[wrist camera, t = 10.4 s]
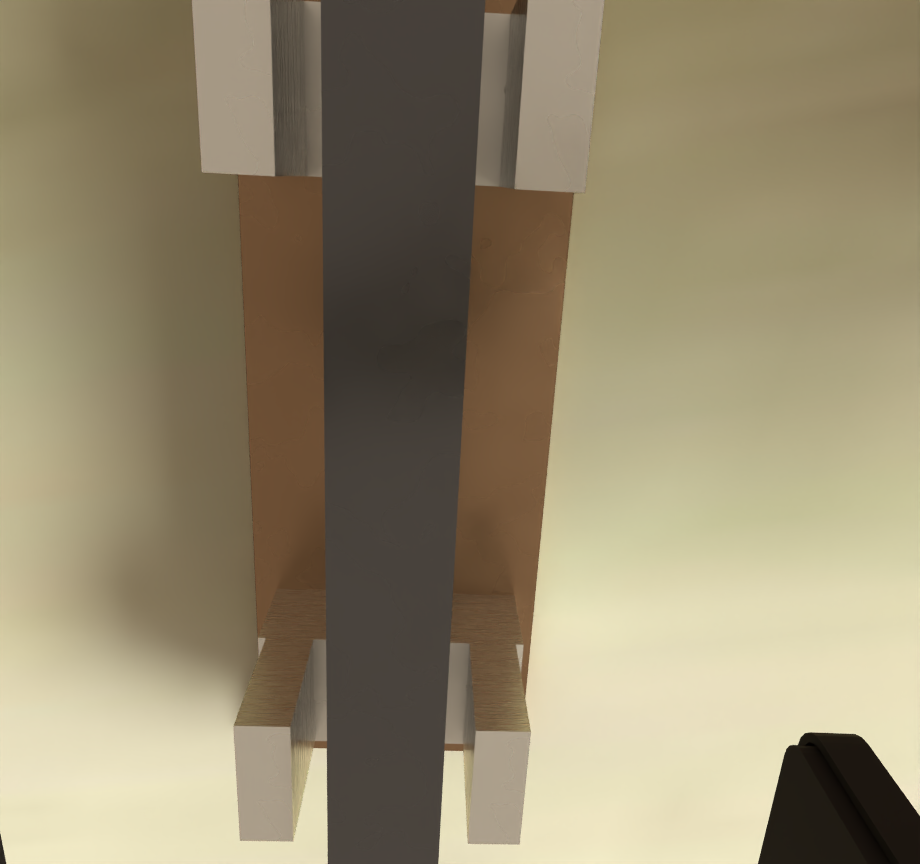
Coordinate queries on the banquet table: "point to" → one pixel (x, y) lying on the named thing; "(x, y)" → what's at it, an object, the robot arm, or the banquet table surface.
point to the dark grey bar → (393, 403)
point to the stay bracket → (485, 388)
